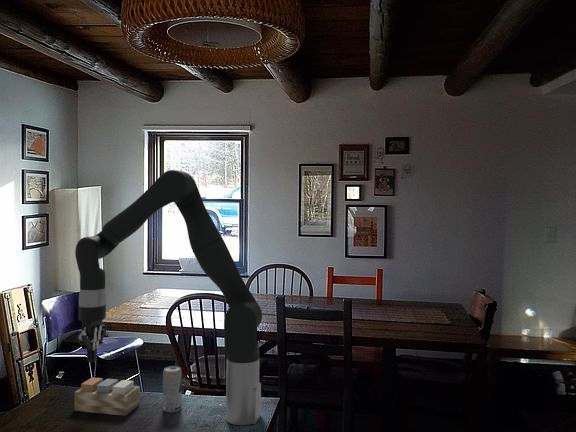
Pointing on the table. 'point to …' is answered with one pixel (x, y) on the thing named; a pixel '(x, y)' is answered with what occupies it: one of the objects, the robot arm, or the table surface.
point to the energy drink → (172, 389)
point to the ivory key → (123, 387)
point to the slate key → (106, 386)
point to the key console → (107, 402)
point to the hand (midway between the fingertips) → (92, 361)
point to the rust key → (91, 384)
